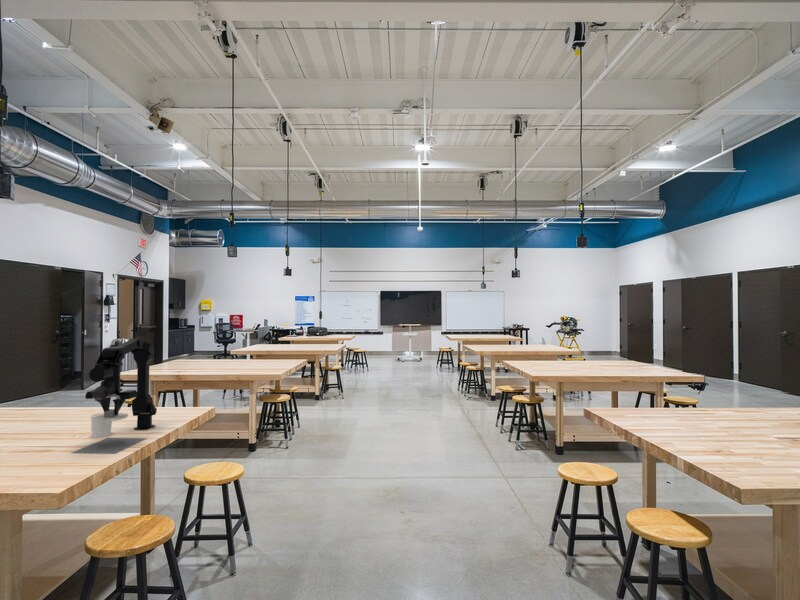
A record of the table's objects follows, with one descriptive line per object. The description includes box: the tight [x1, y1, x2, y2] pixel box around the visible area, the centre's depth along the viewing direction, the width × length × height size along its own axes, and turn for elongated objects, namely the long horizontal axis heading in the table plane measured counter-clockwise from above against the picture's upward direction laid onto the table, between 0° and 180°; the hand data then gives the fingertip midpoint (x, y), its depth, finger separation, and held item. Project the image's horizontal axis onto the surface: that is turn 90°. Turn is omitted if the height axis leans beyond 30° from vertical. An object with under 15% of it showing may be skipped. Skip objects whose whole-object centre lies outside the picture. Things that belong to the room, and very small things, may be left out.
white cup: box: [90, 412, 113, 439], centre depth 190 cm, size 8×8×10 cm
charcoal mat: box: [71, 437, 148, 455], centre depth 177 cm, size 20×18×1 cm
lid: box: [94, 408, 129, 422], centre depth 178 cm, size 12×12×3 cm
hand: (111, 415), depth 178 cm, fingers closed on lid, 4 cm apart
